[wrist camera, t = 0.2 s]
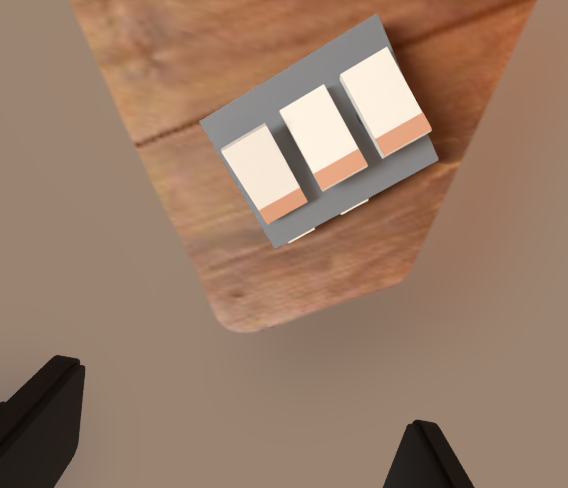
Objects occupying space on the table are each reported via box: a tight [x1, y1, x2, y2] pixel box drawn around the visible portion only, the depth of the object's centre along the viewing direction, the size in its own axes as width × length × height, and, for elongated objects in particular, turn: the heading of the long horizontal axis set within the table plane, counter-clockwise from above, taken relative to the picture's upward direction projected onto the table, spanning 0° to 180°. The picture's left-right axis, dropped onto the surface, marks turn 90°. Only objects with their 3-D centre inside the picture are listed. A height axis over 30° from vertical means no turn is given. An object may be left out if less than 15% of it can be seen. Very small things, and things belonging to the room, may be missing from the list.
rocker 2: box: [279, 84, 368, 192], centre depth 31 cm, size 4×8×1 cm, turn 29°
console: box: [199, 13, 439, 249], centre depth 34 cm, size 18×14×5 cm
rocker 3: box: [340, 47, 432, 159], centre depth 30 cm, size 4×8×1 cm, turn 29°
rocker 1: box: [221, 123, 308, 224], centre depth 32 cm, size 4×8×1 cm, turn 29°
